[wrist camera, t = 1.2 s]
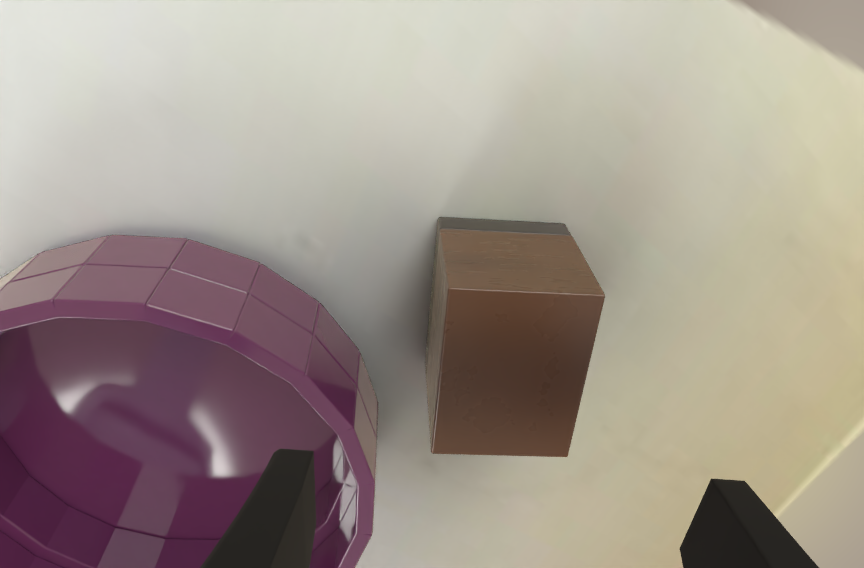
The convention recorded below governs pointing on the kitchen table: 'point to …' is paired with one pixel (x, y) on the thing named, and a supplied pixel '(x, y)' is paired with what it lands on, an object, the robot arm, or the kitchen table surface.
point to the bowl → (170, 405)
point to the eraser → (508, 337)
